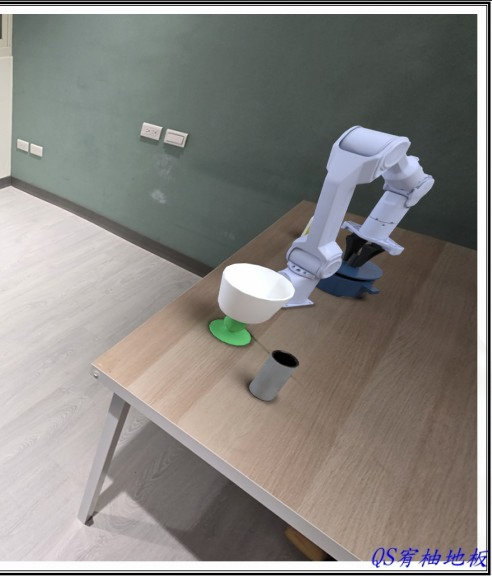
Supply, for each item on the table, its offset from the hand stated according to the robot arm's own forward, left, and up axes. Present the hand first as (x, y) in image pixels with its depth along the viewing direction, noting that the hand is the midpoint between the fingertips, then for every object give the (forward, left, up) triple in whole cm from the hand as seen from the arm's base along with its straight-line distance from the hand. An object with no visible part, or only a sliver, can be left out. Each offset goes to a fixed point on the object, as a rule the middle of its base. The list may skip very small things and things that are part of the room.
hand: (351, 263), depth 102 cm
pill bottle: (+12, +22, -8) cm, 26 cm away
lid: (0, 0, -1) cm, 1 cm away
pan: (0, 0, -7) cm, 7 cm away
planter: (-48, -30, -8) cm, 57 cm away
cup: (-43, -13, -8) cm, 46 cm away
